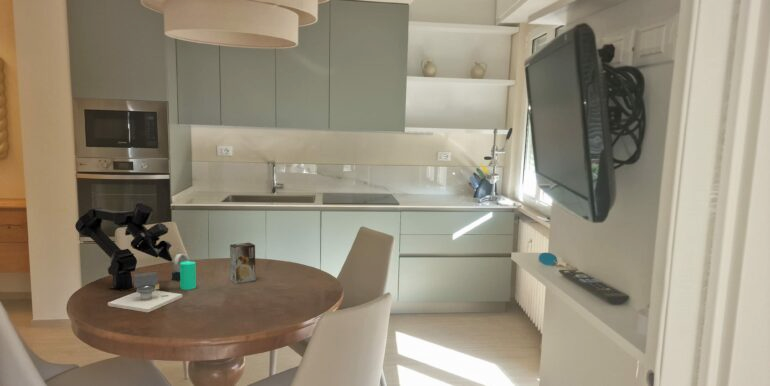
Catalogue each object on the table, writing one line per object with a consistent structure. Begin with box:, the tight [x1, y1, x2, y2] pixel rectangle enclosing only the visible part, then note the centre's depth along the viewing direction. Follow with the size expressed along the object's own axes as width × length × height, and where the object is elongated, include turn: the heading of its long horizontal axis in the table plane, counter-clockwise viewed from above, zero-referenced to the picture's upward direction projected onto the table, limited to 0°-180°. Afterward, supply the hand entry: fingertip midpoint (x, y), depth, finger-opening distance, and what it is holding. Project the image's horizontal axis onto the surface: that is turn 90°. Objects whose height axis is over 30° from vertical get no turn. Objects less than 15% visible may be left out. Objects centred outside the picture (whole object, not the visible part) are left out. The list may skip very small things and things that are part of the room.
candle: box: [179, 260, 197, 290], centre depth 207 cm, size 6×6×12 cm
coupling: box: [133, 271, 160, 293], centre depth 189 cm, size 8×6×6 cm
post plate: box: [107, 289, 183, 313], centre depth 190 cm, size 18×18×4 cm
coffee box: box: [229, 242, 257, 285], centre depth 219 cm, size 9×6×16 cm
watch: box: [171, 253, 190, 281], centre depth 219 cm, size 6×8×11 cm
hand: (164, 258), depth 193 cm, fingers open, 9 cm apart
